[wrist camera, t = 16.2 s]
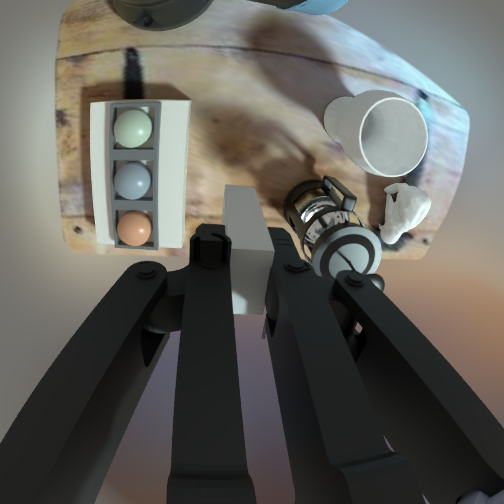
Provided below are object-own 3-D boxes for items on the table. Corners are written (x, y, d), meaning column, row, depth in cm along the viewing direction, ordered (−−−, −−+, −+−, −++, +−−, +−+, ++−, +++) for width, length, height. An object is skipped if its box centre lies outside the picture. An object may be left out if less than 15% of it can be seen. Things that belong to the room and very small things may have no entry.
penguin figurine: (442, 201, 41) (411, 261, 48) (416, 179, 48) (392, 234, 55) (414, 192, 40) (383, 257, 47) (389, 170, 47) (365, 229, 54)
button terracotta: (119, 208, 42) (116, 214, 40) (152, 210, 43) (149, 215, 41) (122, 238, 44) (118, 245, 43) (152, 240, 45) (150, 247, 43)
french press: (326, 240, 53) (380, 332, 33) (275, 230, 51) (309, 327, 31) (349, 177, 47) (427, 247, 28) (295, 163, 46) (353, 228, 26)
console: (100, 101, 37) (86, 103, 32) (191, 99, 39) (187, 101, 34) (105, 232, 48) (94, 248, 43) (184, 236, 50) (180, 253, 45)
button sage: (119, 109, 35) (114, 110, 33) (154, 109, 35) (151, 110, 34) (118, 144, 37) (113, 147, 36) (152, 145, 38) (149, 147, 36)
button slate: (118, 160, 38) (113, 164, 37) (152, 161, 39) (148, 164, 37) (119, 194, 41) (115, 199, 39) (151, 195, 42) (148, 200, 40)
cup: (300, 110, 41) (336, 122, 28) (354, 75, 39) (407, 76, 26) (337, 165, 46) (380, 198, 33) (387, 130, 44) (442, 152, 31)
